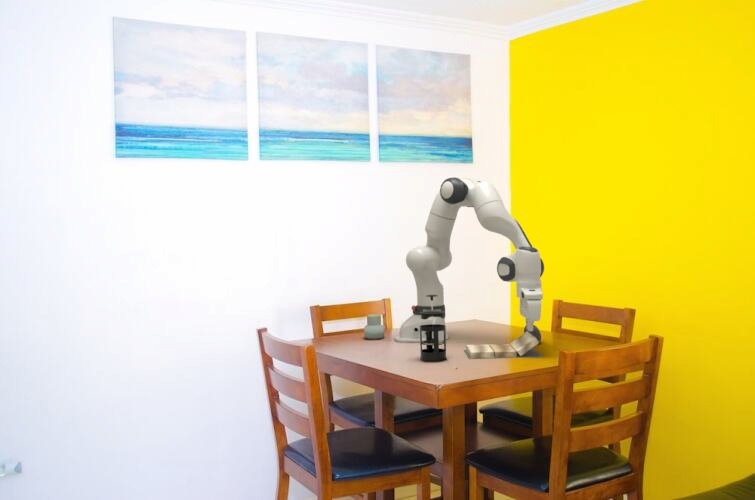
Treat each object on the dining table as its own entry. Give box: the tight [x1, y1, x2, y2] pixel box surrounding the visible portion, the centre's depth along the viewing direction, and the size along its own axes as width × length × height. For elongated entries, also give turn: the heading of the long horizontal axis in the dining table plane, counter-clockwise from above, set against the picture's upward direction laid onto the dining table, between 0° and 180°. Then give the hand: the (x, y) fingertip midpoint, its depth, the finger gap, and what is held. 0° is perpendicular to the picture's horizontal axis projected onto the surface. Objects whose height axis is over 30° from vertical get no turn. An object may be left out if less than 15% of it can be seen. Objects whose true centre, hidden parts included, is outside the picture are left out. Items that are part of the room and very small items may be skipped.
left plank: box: [465, 344, 494, 358], centre depth 252 cm, size 8×16×2 cm, turn 179°
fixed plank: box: [488, 343, 517, 359], centre depth 251 cm, size 7×16×2 cm, turn 179°
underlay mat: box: [463, 347, 544, 360], centre depth 251 cm, size 26×18×1 cm
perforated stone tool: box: [523, 324, 542, 345], centre depth 275 cm, size 15×5×7 cm, turn 179°
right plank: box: [509, 331, 539, 356], centre depth 251 cm, size 8×16×2 cm
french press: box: [419, 295, 448, 363], centre depth 248 cm, size 12×9×23 cm
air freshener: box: [363, 313, 385, 340], centre depth 299 cm, size 11×8×10 cm
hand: (529, 330), depth 251 cm, fingers closed
